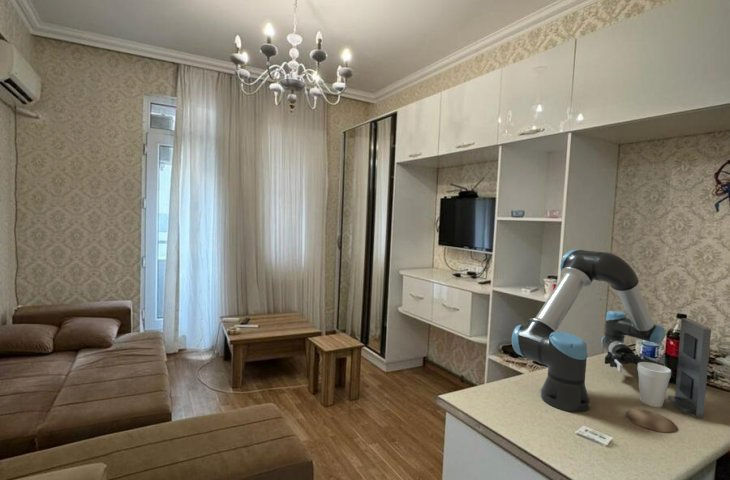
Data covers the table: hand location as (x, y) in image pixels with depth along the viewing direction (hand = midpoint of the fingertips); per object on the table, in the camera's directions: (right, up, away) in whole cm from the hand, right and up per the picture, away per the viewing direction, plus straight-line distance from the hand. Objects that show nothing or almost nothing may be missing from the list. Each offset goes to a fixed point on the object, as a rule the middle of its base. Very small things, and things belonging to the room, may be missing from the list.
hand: (641, 371), depth 143 cm
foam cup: (-3, -8, -9) cm, 12 cm away
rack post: (+6, -8, -11) cm, 15 cm away
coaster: (-13, -9, -21) cm, 26 cm away
